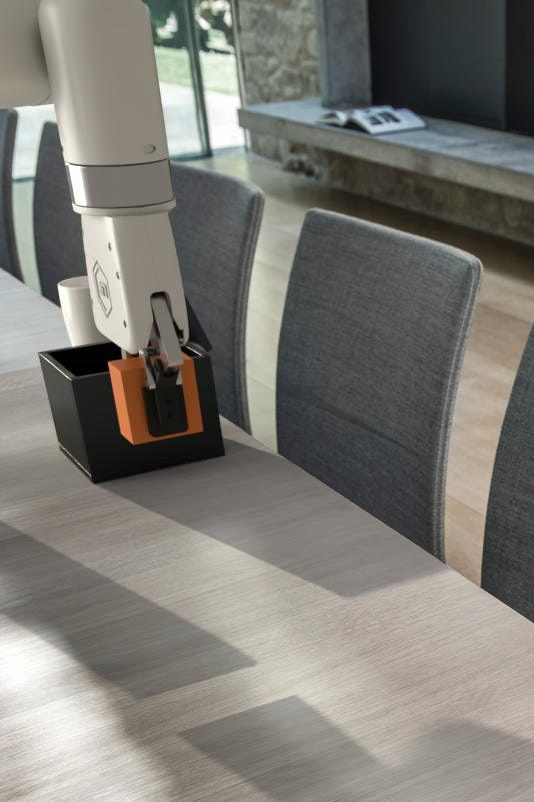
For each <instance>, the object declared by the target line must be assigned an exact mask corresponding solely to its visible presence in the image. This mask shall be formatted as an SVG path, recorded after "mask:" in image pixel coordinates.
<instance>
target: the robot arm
mask: <svg viewBox="0 0 534 802" xmlns="http://www.w3.org/2000/svg"><path fill="white" fill-rule="evenodd" d="M156 60H157V59H156V51H155V45H154V37H153V31H152V24H151V18H150V15H149V12H148V9H147V7H146V5H145V3H144V2H143V0H0V110H6V109H14V108H22V107H39V106H49V105H53V107H54V112H55V117H56V124H57V129H58V135H59V140H60V146H61V151H62V157H63V160H64V166H65V173H66V177H67V183H68V188H69V194H70V199H71V205H72V210H73V212H75V213H77V214H80V217H81V229H82V230H81V231H82V232H81V233H82V241H83V250H84V251H83V252H84V258H85V265H86V272H87V276H88V280H89V287H90V294H91V301H92V307H93V314H94V320H95V324H96V326H97V328H98V330H99V331H100V332H101V333H102V334H103V335H105V336H106V337H107V338H109V339H110V340H111V341H113V342H114V343H115V344H117V345H118V346H120V347H121V352H122V359H127V358H133V357H140V362H141V367H142V372H143V377H144V382H145V385H146V387H145V388H141V389H142V395H143V401H144V407H145V413H146V419H147V424H148V430H149V434H150V435H151V436H152V437H154V438H157V437H162V436H167V435H172V434H177V433H183V432H186V431H187V430H188V428H189V426H188V419H187V412H186V406H185V399H184V392H183V386H182V383H183V380H182V374H181V369H180V367H181V366H182V365H183V363H184V360H183V355H182V352H181V349H180V346H184V345H185V344H186V342H188V339H189V329H188V318H187V310H186V303H185V297H184V293H185V291H184V286H183V285H184V284H183V280H182V274H181V268H180V263H179V257H178V252H177V249H176V248H177V247H176V244H175V238H174V234H173V230H172V229H173V228H172V225H171V220H170V217H169V213H168V212H167V210H169V209H172V210H173V209H175V207H176V206H177V200H176V192H175V185H174V178H173V171H172V163H171V158H170V152H169V145H168V137H167V128H166V123H165V114H164V108H163V101H162V94H161V86H160V80H159V73H158V66H157V61H156ZM157 341H158V343H157ZM158 344H159V345H158ZM156 355H160V356H159V357H160V358H159V359H155V360H154V364H153V368H152V363H151V358H150V356H156Z"/></svg>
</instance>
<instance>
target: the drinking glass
mask: <svg viewBox="0 0 534 802" xmlns="http://www.w3.org/2000/svg"><path fill="white" fill-rule="evenodd" d="M57 290H58V296H59V303H60V308H61V313H62V316H63V320H64V324H65V328H66V332H67V335H68V338H69V341H70V345H71V347H73V346H79V345H86V344H92V343H98V342H104V341H110V339H109V338H107V337H106V336H105V335H103V334H102V333H101V332H100V331H99V330H98V328H97V326H96V324H95V320H94V314H93V307H92V301H91V294H90V287H89V280H88V275H83V276H82V275H81V276H75V277H70V278H66V279H63V280H61V281H59V282H58V283H57Z"/></svg>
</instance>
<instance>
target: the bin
mask: <svg viewBox="0 0 534 802" xmlns="http://www.w3.org/2000/svg"><path fill="white" fill-rule="evenodd" d="M157 343H158V341H157ZM158 345H159V344H158ZM180 349H181V352H183V353H184V354H186V355H187V356H189V357H190V358H192V359H193V363H194V370H195V377H196V384H197V391H198V398H199V405H200V412H201V419H202V426H203V431H201V432H196V433H191V434H186V435H181V436H176V437H171V438H166V439H161V440H156V441H151V442H146V443H141V444H135V445H133V444H132V443H131V442H130V441H129V440H128V439H126V438H125V437H124V436H123V435H122V434H121V430H120V425H119V419H118V414H117V409H116V403H115V398H114V392H113V387H112V381H111V376H110V370H109V365H108V362H109V361H115V360H121V359H122V352H121V347H120V346H118V345H117V344H115V343H114V342H113V341H111V340H110V341H104V342H98V343H92V344H86V345H79V346H73V347H72V346H68V347H61V348H55V349H51V350H50V349H49V350H43V351H38V352H37V356H38V359H39V364H40V368H41V372H42V377H43V381H44V386H45V390H46V395H47V399H48V403H49V408H50V413H51V417H52V420H53V421H52V422H53V426H54V430H55V434H56V438H57V443H58V447H59V451H60V452H62V453H63V455H64V456H65V457H66V458H67V459H68V460H69V461H70V462H71V463H72V464H73V465H74V466H75V467H76V468H77V469H78V470H79V471H80V472H81V473H82V474H83V475H84V476H85V477H86V478H87V479H88V480H89V481H90V482H91V483H92V484H99V483H103V482H108V481H113V480H116V479H121V478H125V477H131V476H134V475H140V474H143V473H145V474H146V473H149V472H153V471H157V470H163V469H167V468H172V467H176V466H180V465H186V464H191V463H194V462H199V461H204V460H209V459H213V458H218V457H222V456H225V455H226V451H225V444H224V438H223V431H222V425H221V417H220V411H219V404H218V397H217V393H216V392H217V391H216V384H215V378H214V370H213V364H212V357H211V355H210V354H208V352H205V351H203V350H202V349H200V348H198V347H197V346H195V345H193V344H192V343H190V342H188V341H187V342H186V344H185V345H184V346H180Z"/></svg>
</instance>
